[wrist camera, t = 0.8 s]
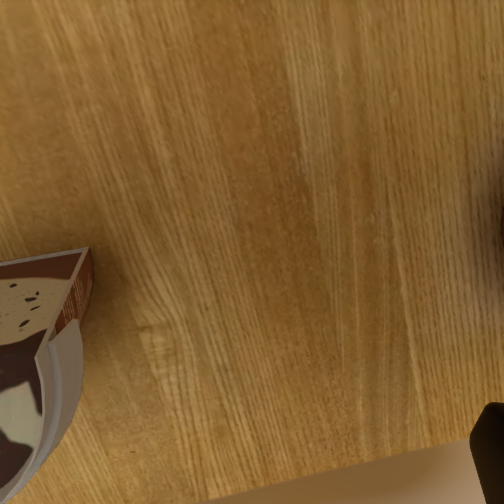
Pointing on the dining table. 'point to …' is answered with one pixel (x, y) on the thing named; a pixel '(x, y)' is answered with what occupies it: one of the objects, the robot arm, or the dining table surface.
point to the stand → (502, 227)
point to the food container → (39, 357)
